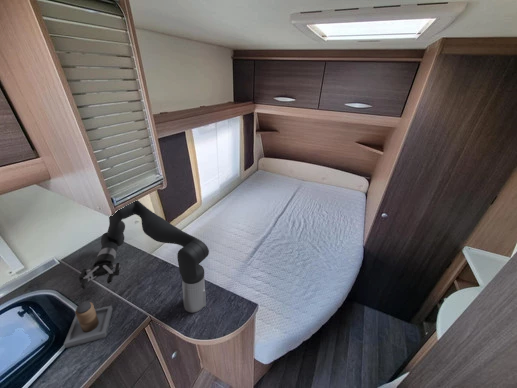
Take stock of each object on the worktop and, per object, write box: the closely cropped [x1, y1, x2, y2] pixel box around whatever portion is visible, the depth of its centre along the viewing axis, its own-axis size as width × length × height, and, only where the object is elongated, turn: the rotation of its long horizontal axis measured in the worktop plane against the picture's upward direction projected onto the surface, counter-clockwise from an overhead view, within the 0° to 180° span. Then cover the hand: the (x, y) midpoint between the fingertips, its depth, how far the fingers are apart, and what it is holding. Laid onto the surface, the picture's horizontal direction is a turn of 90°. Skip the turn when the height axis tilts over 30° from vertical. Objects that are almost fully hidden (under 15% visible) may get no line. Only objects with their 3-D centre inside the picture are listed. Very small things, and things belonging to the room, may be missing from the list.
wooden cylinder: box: [74, 301, 99, 332], centre depth 78 cm, size 5×5×11 cm
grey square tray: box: [63, 305, 113, 349], centre depth 80 cm, size 12×12×2 cm
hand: (96, 284), depth 86 cm, fingers open, 8 cm apart
